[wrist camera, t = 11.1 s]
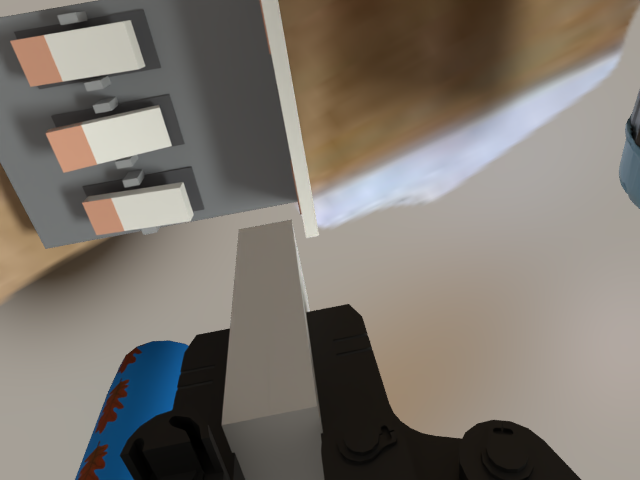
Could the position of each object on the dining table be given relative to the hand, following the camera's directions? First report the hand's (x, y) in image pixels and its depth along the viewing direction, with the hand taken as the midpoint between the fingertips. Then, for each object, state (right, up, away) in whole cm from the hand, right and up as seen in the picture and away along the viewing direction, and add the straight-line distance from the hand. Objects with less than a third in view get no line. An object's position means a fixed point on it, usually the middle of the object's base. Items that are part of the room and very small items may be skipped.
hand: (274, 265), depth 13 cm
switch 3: (-13, +3, +24) cm, 28 cm away
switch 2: (-14, +8, +21) cm, 27 cm away
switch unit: (-13, +11, +26) cm, 31 cm away
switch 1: (-15, +14, +18) cm, 27 cm away
